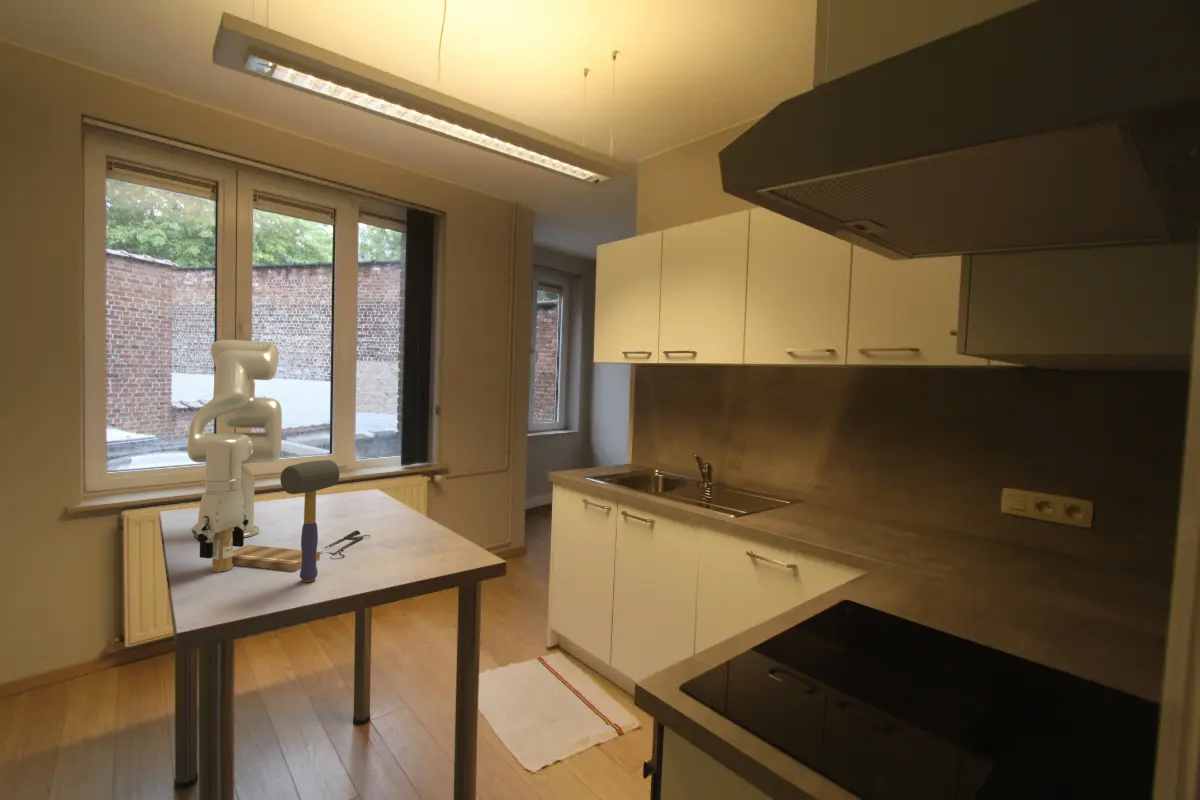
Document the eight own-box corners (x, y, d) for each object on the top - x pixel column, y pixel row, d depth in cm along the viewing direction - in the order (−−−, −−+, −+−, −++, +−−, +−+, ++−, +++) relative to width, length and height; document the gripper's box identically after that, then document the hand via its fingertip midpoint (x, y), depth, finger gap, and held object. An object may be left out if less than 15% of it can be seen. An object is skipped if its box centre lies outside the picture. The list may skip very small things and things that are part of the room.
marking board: (219, 563, 147) (219, 555, 147) (248, 551, 157) (249, 544, 157) (294, 571, 144) (294, 563, 144) (319, 559, 154) (319, 551, 154)
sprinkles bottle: (232, 570, 143) (233, 519, 142) (211, 573, 140) (212, 521, 140) (232, 565, 147) (233, 514, 146) (211, 568, 144) (212, 516, 143)
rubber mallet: (317, 570, 146) (320, 456, 144) (339, 575, 143) (342, 459, 142) (275, 586, 134) (277, 463, 133) (298, 592, 131) (300, 466, 130)
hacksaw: (355, 533, 180) (355, 529, 180) (385, 536, 178) (385, 532, 178) (305, 557, 156) (305, 552, 156) (339, 561, 154) (339, 555, 154)
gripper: (237, 479, 151) (236, 541, 152) (180, 491, 134) (179, 561, 135) (261, 481, 150) (260, 543, 151) (207, 493, 133) (206, 564, 134)
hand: (222, 551), depth 143 cm, fingers open, 9 cm apart
